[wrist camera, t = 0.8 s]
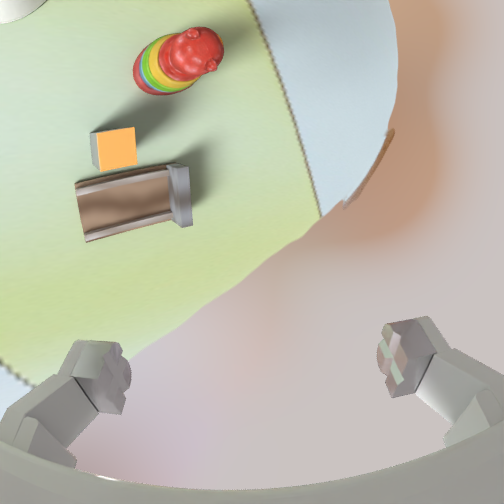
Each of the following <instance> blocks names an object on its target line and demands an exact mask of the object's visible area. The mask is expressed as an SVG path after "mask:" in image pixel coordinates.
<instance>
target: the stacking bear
mask: <svg viewBox="0 0 504 504" xmlns="http://www.w3.org/2000/svg"><path fill="white" fill-rule="evenodd" d="M223 54H224V47H223V42H222V39H221V38H220V36H219V35H218V34H217V33H215V32H214V31H213V30H211V29H209V28H206V27H194V28H189V29H188V30H186V31H184V32H183V33H176V34H169V35H165V36H163V37H160V38H158V39H156V40H155V41H153V42H152V43H151V44H149V45H148V46H147V47H146V48H144V49H143V51H142V52H141V53H140V54H139V56H138V57H137V59H136V61H135V63H134V66H133V77H134V80H135V82H136V84H137V85H138V87H139V88H140V89H142V90H143V91H144V92H146V93H149V94H152V95H170V94H175V93H178V92H181V91H183V90H185V89H187V88H189V87H190V86H192V85H193V83H194V82H195V81H197V80H198V79H199V78H200V77H201V76H202V75H203V74H206V73H208V72H212V71H216V70H217V66H218V65H219V64H220V62H221V60H222V58H223Z"/></svg>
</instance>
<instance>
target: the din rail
mask: <svg viewBox="0 0 504 504" xmlns="http://www.w3.org/2000/svg"><path fill="white" fill-rule="evenodd" d="M75 190H76V196H77V202H78V207H79V212H80V218H81V222H82V227H83V232H84V236H85V241H86V243H87V242H90V241H94V240H97V239H101V238H104V237H108V236H112V235H115V234H119V233H123V232H126V231H130V230H134V229H138V228H141V227H145V226H149V225H153V224H157V223H161V222H165V221H169V220H172V221H174V222H175V223H176V224H178V225H179V226H180V227H182V228H184V227H188V226H192V225H193V219H192V207H191V194H190V180H189V167H188V166H185V165H181V164H178V163H170V164H164V165H159V166H153V167H148V168H142V169H137V170H132V171H127V172H122V173H118V174H113V175H108V176H104V177H99V178H95V179H91V180H87V181H83V182H79V183H75Z"/></svg>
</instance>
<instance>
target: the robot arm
mask: <svg viewBox="0 0 504 504" xmlns="http://www.w3.org/2000/svg"><path fill="white" fill-rule="evenodd" d="M45 1H46V0H0V24H1V23H9V22H13V21H16V20H18V19H21V18H23V17H25V16H27V15H28V14H30V13H32V12H33V11H34V10H36V9H37V8H38V7H40V6H41V5H42V4H43V3H44V2H45ZM382 335H383V338H384V339H383V340H382V341H381V342H380V343H379V345H378V349H377V362H378V366H379V368H380V371H381V372H382V373H384V374H385V375H387V379H386V382H385V383H386V386H387V388H388V390H389V393H390V395H391V398H395V397H399V396H403V395H408V394H412V393H415V395H417V396H418V397H419V398H420V399H422V400H423V401H424V402H425V403H426V404H428V405H429V406H430V407H431V408H432V409H434V410H435V411H436V412H437V413H438V414H440V415H441V416H442V417H443V418H445V419H446V420H447V421H448V422H449V423H451V424H452V425H453V426H452V427H451V428H450V430H449V431H448V432H447V434H446V435H445V436H444V438H443V440H444V443H445V446H446V448H444V449H442V450H440V451H437V452H434V453H432V454H429V455H426V456H423V457H421V458H418V459H415V460H412V461H409V462H406V463H403V464H400V465H396V466H393V467H389V468H386V469H383V470H379V471H375V472H372V473H367V474H363V475H359V476H354V477H349V478H345V479H340V480H334V481H329V482H324V483H316V484H310V485H302V486H293V487H284V488H272V489H254V490H204V489H187V488H174V487H166V486H157V485H149V484H143V483H136V482H130V481H124V480H119V479H115V478H110V477H105V476H101V475H96V474H93V473H89V472H85V471H81V470H78V469H75V466H76V463H77V459H76V457H75V456H74V455H73V454H72V453H70V452H69V451H68V450H67V449H66V448H67V447H68V446H69V445H70V444H71V443H72V442H73V441H74V440H75V439H76V438H77V437H78V436H79V435H80V433H81V432H82V431H83V430H84V429H85V428H86V427H87V426H88V425H89V424H90V423H91V422H92V420H94V419H95V417H96V416H97V415H98V414H99V413H98V412H101V413H109V414H119V415H121V414H122V410H123V407H124V403H125V400H126V398H125V395H124V392H125V391H126V390H127V389H128V388H129V387H130V383H131V368H130V365H129V363H128V361H127V360H126V359H125V358H124V357H122V356H121V354H122V351H123V350H122V348H121V346H120V344H119V343H117V342H107V341H93V340H90V341H89V340H76V341H75V342H74V343H73V345H72V347H71V349H70V351H69V352H68V354H67V356H66V358H65V360H64V362H63V364H62V366H61V368H60V370H59V372H58V374H57V375H56V374H53V375H52V376H50V377H49V378H48V379H46V380H45V381H44V382H42V383H41V384H40V385H38V386H37V387H35V388H34V389H33V390H31V391H30V392H29V393H27V394H26V395H25V396H23V397H22V398H21V399H19V400H18V401H16V402H15V403H14V404H12V405H11V406H10V407H8V408H7V410H6V412H5V414H4V416H3V418H2V420H1V422H0V504H504V375H502V374H501V373H499V372H497V371H495V370H493V369H491V368H490V367H488V366H486V365H484V364H483V363H481V362H479V361H477V360H475V359H473V358H471V357H470V356H468V355H466V354H464V353H463V352H461V351H459V350H457V349H455V348H454V349H451V348H450V346H449V345H448V343H447V342H446V340H445V339H444V337H443V336H442V334H441V333H440V331H439V330H438V328H437V327H436V326H435V324H434V323H433V321H432V320H431V319H430V317H428V316H424V317H419V318H414V319H409V320H404V321H398V322H393V323H387V324H385V326H384V327H383V330H382Z"/></svg>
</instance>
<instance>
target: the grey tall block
mask: <svg viewBox="0 0 504 504" xmlns="http://www.w3.org/2000/svg"><path fill="white" fill-rule="evenodd" d="M90 145H91V154H92V163H93V165H94V166H96V167H97V168H98V169H99V170H100V171H101V172H102V171H107V170H111V169H116V168H121V167H126V166H131V165H136V164H137V153H136V141H135V127H128V128H117V129H111V130H105V131H100V132H95V133H90Z"/></svg>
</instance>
